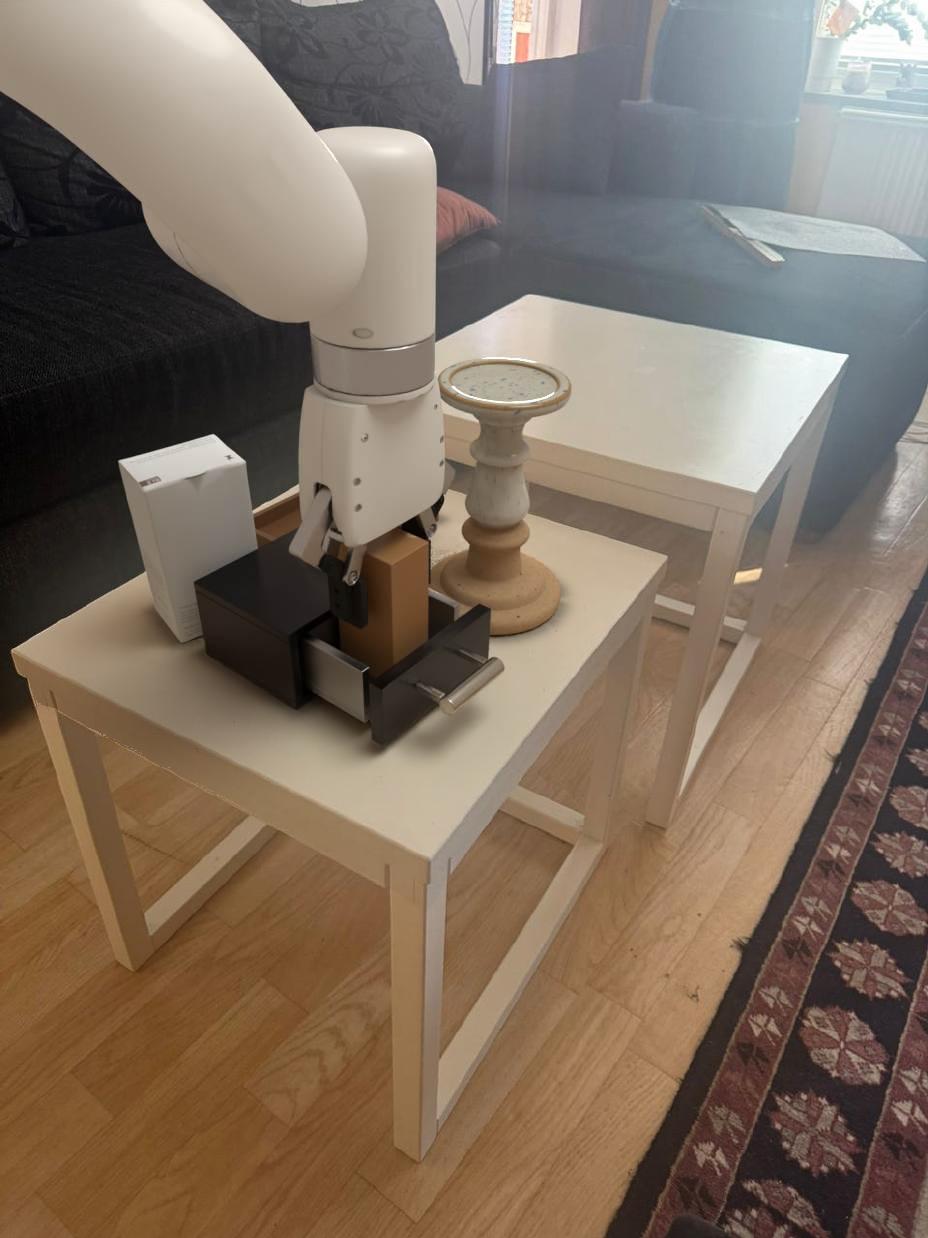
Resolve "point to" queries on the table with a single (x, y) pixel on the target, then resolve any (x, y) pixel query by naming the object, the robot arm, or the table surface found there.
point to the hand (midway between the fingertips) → (381, 597)
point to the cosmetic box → (188, 521)
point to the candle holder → (500, 492)
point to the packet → (390, 601)
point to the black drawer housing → (264, 616)
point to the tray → (279, 520)
